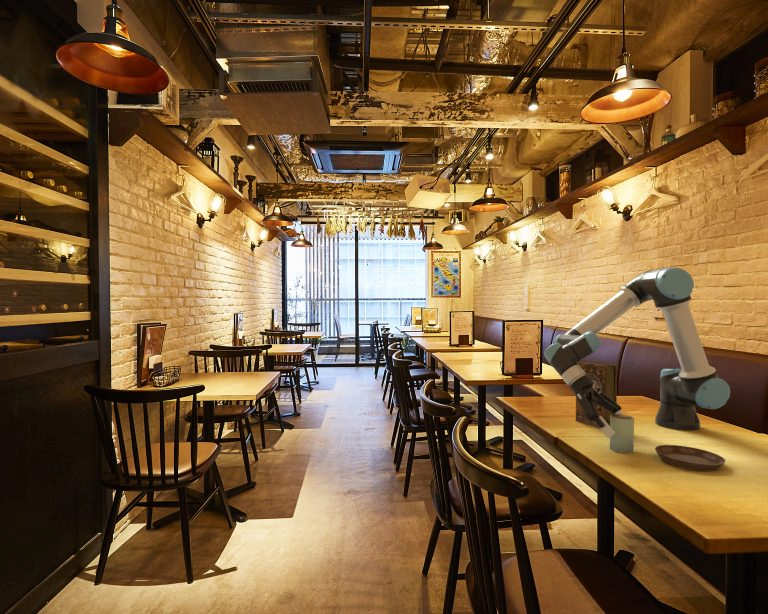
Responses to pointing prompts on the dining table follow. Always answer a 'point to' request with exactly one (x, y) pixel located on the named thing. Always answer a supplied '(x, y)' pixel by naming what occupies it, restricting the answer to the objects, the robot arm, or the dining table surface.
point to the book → (602, 379)
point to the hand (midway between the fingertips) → (621, 432)
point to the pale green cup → (622, 433)
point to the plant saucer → (690, 457)
